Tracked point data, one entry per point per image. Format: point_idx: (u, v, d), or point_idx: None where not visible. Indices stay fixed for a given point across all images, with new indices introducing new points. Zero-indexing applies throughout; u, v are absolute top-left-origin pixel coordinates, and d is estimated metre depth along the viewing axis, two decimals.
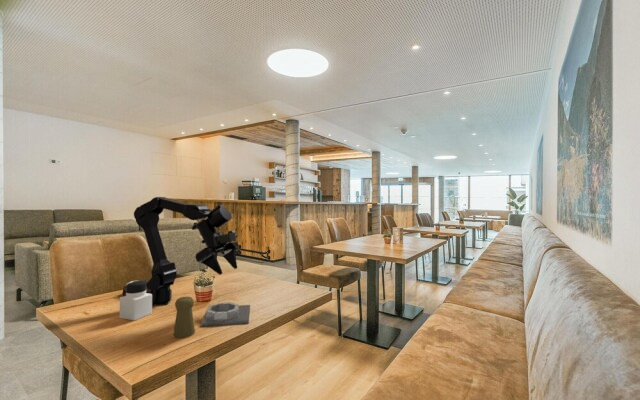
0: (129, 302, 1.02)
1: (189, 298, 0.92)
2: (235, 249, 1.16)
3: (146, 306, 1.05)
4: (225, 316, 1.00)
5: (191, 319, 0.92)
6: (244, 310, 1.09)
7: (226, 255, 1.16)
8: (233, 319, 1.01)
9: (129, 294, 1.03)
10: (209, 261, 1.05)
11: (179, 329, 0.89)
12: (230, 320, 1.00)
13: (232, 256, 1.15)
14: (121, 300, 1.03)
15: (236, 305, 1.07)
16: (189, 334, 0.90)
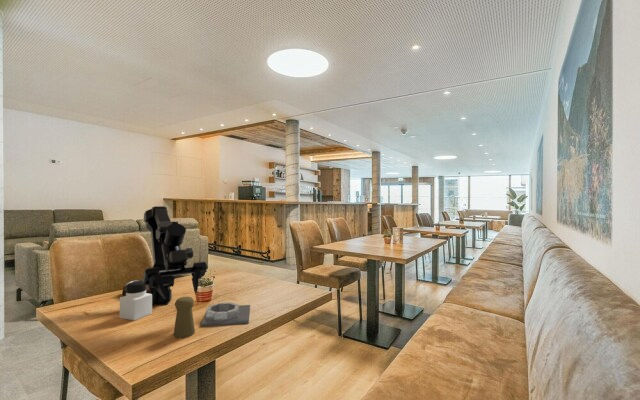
0: (129, 302, 1.02)
1: (189, 298, 0.92)
2: (198, 270, 1.01)
3: (146, 306, 1.05)
4: (225, 316, 1.00)
5: (191, 319, 0.92)
6: (244, 310, 1.09)
7: (192, 278, 1.02)
8: (233, 319, 1.01)
9: (129, 294, 1.03)
10: (157, 283, 0.95)
11: (179, 329, 0.89)
12: (230, 320, 1.00)
13: (194, 278, 1.00)
14: (121, 300, 1.03)
15: (236, 305, 1.07)
16: (189, 334, 0.90)
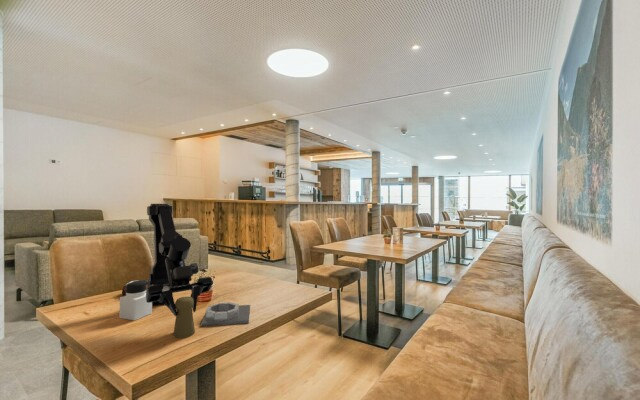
0: (129, 302, 1.02)
1: (189, 298, 0.92)
2: (197, 287, 0.95)
3: (146, 306, 1.05)
4: (225, 316, 1.00)
5: (191, 319, 0.92)
6: (244, 310, 1.09)
7: (191, 295, 0.97)
8: (233, 319, 1.01)
9: (129, 294, 1.03)
10: (167, 300, 0.92)
11: (179, 329, 0.89)
12: (230, 320, 1.00)
13: (193, 296, 0.95)
14: (121, 300, 1.03)
15: (236, 305, 1.07)
16: (189, 334, 0.90)
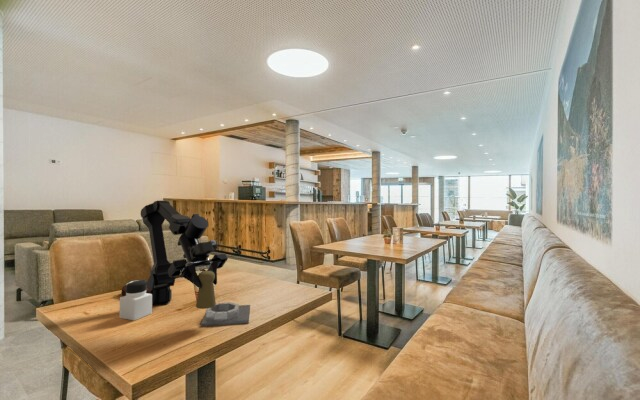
0: (129, 302, 1.02)
1: (211, 272, 0.98)
2: (215, 262, 1.02)
3: (146, 306, 1.05)
4: (225, 316, 1.00)
5: (213, 291, 0.98)
6: (244, 310, 1.09)
7: (208, 270, 1.03)
8: (233, 319, 1.01)
9: (129, 294, 1.03)
10: (189, 274, 0.97)
11: (203, 301, 0.95)
12: (230, 320, 1.00)
13: (212, 270, 1.01)
14: (121, 300, 1.03)
15: (236, 305, 1.07)
16: (212, 305, 0.97)
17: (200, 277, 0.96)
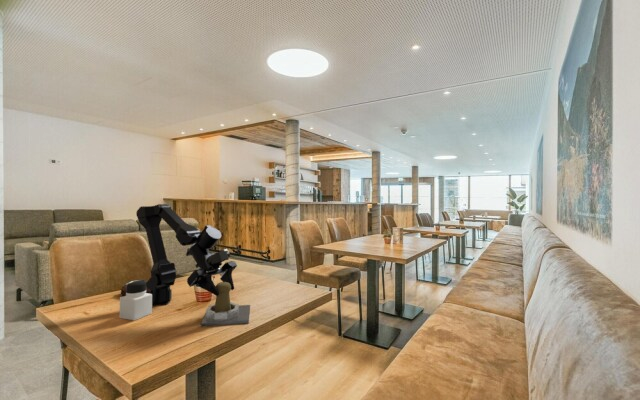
0: (129, 302, 1.02)
1: (228, 283, 1.05)
2: (230, 269, 1.10)
3: (146, 306, 1.05)
4: (225, 316, 1.00)
5: None
6: (244, 310, 1.09)
7: (222, 277, 1.10)
8: (233, 319, 1.01)
9: (129, 294, 1.03)
10: (204, 283, 1.02)
11: (222, 310, 1.02)
12: (230, 320, 1.00)
13: (228, 277, 1.09)
14: (121, 300, 1.03)
15: (236, 305, 1.07)
16: None
17: (219, 288, 1.02)
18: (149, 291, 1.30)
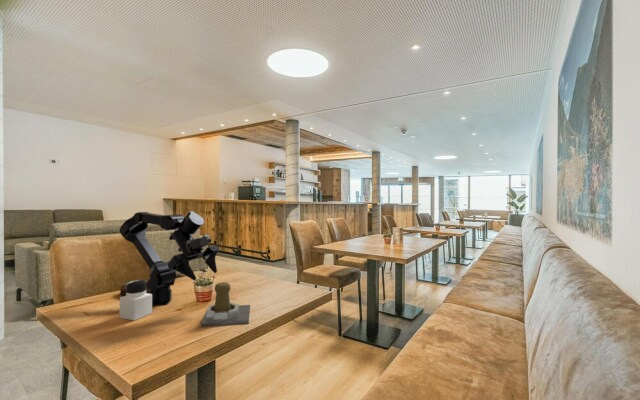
0: (129, 302, 1.02)
1: (227, 283, 1.05)
2: (213, 253, 1.15)
3: (146, 306, 1.05)
4: (225, 316, 1.00)
5: (229, 301, 1.05)
6: (244, 310, 1.09)
7: (207, 260, 1.16)
8: (233, 319, 1.01)
9: (129, 294, 1.03)
10: (182, 268, 1.06)
11: (222, 310, 1.02)
12: (230, 320, 1.00)
13: (211, 260, 1.14)
14: (121, 300, 1.03)
15: (236, 305, 1.07)
16: None
17: (218, 288, 1.02)
18: (148, 291, 1.30)
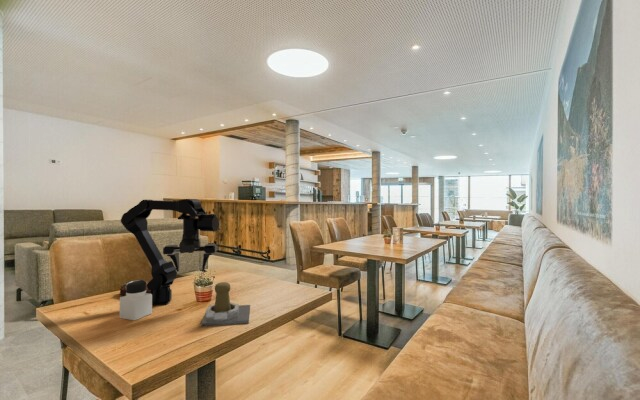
0: (129, 302, 1.02)
1: (227, 283, 1.05)
2: (205, 255, 1.16)
3: (146, 306, 1.05)
4: (225, 316, 1.00)
5: (229, 301, 1.05)
6: (244, 310, 1.09)
7: None
8: (233, 319, 1.01)
9: (129, 294, 1.03)
10: None
11: (222, 310, 1.02)
12: (230, 320, 1.00)
13: None
14: (121, 300, 1.03)
15: (236, 305, 1.07)
16: None
17: (218, 288, 1.02)
18: (148, 291, 1.30)
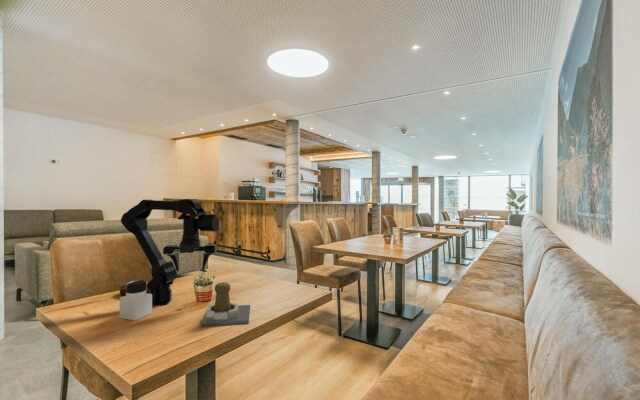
0: (129, 302, 1.02)
1: (227, 283, 1.05)
2: (205, 255, 1.16)
3: (146, 306, 1.05)
4: (225, 316, 1.00)
5: (229, 301, 1.05)
6: (244, 310, 1.09)
7: None
8: (233, 319, 1.01)
9: (129, 294, 1.03)
10: None
11: (222, 310, 1.02)
12: (230, 320, 1.00)
13: None
14: (121, 300, 1.03)
15: (236, 305, 1.07)
16: None
17: (218, 288, 1.02)
18: (148, 291, 1.30)
